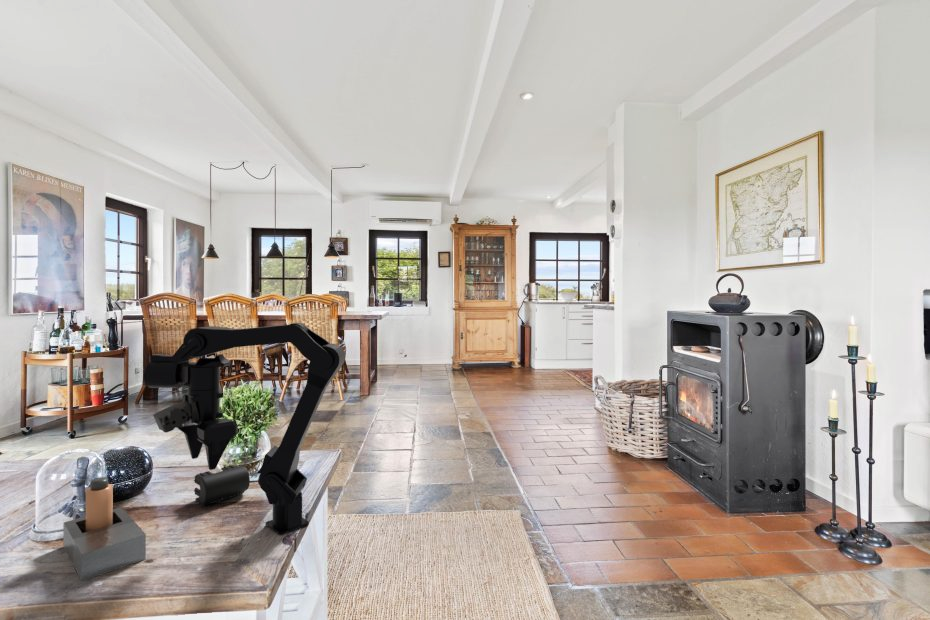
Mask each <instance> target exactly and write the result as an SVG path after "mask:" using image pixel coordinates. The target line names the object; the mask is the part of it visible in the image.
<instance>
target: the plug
mask: <svg viewBox="0 0 930 620" xmlns="http://www.w3.org/2000/svg"><path fill="white" fill-rule="evenodd" d="M113 485H114V484H112V483H109V477H98V478H94V479H91V480H90V487H88V488H86V489H85V517H86V532H89V531H92V530H96V529H99V528H103V527H106V526H110V525H113V509H114V507H113V506H114V505H113V504H114V502H113V501H114V500H113V499H114V498H113V497H114V495H113V493H114V490H113V487H114V486H113Z"/></svg>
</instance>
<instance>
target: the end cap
mask: <svg viewBox="0 0 930 620" xmlns="http://www.w3.org/2000/svg"><path fill="white" fill-rule="evenodd" d="M220 470H221V471H217V472H214V473H213V472H211V471H210V470H209V471H205V472H200V473H196V474H195V476H194V480H193V482H194V484H196V485H198V486H199V488H198V487H194V490H193V492H194V494H195V496H197V497H195V502H196V503H198V505H200V506H202V507H204V506H208V505H212V504H215V503H217V502H220V501H224V500H227V499H230V498H233V497H236V496H239V495H242V494H244V493H245V492H246V491H248V489H249V486H250V485H251V484H250V483H251V482H250V481H251V479H250V473H249V470H248V468H247V467H246V466H245V465H240V466H235V465H233V464H229V465H227V466H222V467H221V469H220Z"/></svg>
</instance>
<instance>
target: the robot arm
mask: <svg viewBox="0 0 930 620" xmlns="http://www.w3.org/2000/svg"><path fill="white" fill-rule="evenodd" d="M284 343H285V344H286V343H290V344H291V345H293V346H294V347H295V348H296V349H297V350H298V352H299V353H300V354H301V355H302V356H303V357H304V358H305V359H307V360H308V361H309V364H308V368H307V374H306V375H307V376H306V383H305V387H304V388H303V391H302V393H301V396H300V397H299V401H298V402H297V404H296V407H295V410H294V412H293V414H292V417H291V418H290V421H289V424H288V426H287V429H286V430H285V433H284V435H283V437H282V440H281V441H280V444H279V446H276V445H274V446H273V447H272V448H270V450H269V451H268V452H266V453H265V455H264V456H263V457H264V458H263V461H262V464H261V467H260V468H259V470H257V472H256V474H257V475H258V479H257V483H258V485H259V488H260V489H261V490H262V491H263V492H264V493H265V496H266V500H267V501H268V503H269V504H268V505H272V519H270V520H268V521H265V526H266V527H268V528H269V529H271V530H272V531H273V532H275V533H276V534H277V535H280V536H281V535H284V534H288V533H289V532H292V531H294V530H298V529H300V528H302V527H305V526H307V525H309V523H310V521H309V520H308V519H306V518H304V517H303V493H302V490H303V489H304V488H305V486H306V483H307V480H308V477H306V476H305V475H304V474H303V473H302V472H301V471H300V470H299V469H298V466H299V462H300V455H301V454H300V452H301V446H302V445H303V443H304V440H305V438H306V435H307V433H308V431H309V428H310V427H311V424H312V421H313V419H314V417H315V415H316V412H317V410H318V408H319V405H320V403H321V401H322V399H323V397H324V394H325V392H326V390H327V388H328V386H330V383H331V382H332V381H333V379H334V378H335V376H336V375H337V373H338V372H339V370H340V369H341V368H342V366H343V365H344V363H345V360H346V353H345V350H344V349H343V348H342V346H340V345H339V344H336V343H330V342H329V341H328V340H326V339H325V338H324V337H323V336H321V335H319V334H318V333H316V332H315V331H313V330H312V329H310V328H309V327H308V326H307V325H306V324H304V323H303V322H293V323H289V324H280V325H269V326H258V327H257V326H256V327H249V328H248V327H247V328H246V327H245V328H230V327H225V326H215V325H214V326H210V325H209V326H202V327H200V326H199V327H194V328H191V329H189V330H187V332H186V333H185V334H184V337H183V339H182V343H181V345H180V346H179V348H178V349H177V350H176V351H175V352H174V354H163V353H156V354H151V355H150V361H148V363H147V365H146V367H145V371H144V372H143V381H144V384H145V386H146V387H148V388H149V389H150V388H151V389H155V388H156V389H181V388H182V387H184V386H185V384H186V383H187V392H186V393H185V392H184V394H183V395H182V401H180V402H178V403H175V404H172V405H169V406H168V407H166V408H164V409H162V410H159V411H156V412H155V413H154V414H153V415H152V416H153V419H154V420H155V423H156V425H157V427H158V429H159V430H161V431H162V432H163V433H169V432H172V431H174V430H175V429H177V430H179V431H181V432H182V433H183V434H184V437H185V440H186V443H187V446H188V449H189V450H188V451H189V453H190V456H191V459H194V460H195V459H197V458H199V456H200V455H201V450H202V449H203V448H202V447H203V445H204V447H205V452H206V453H205V454H206V460H207V466H208V467H207V468H208V469H209V471H212V470H215V469H216V468H217V466H218V465H219V462H220V460H221V458H222V456H224V455H223V454H224V452H225V450H226V449H227V447H228V445H229V444H230V442H231V441H232V439H234V437H235V436H236V435H238V432H239V430H238V426H239V425H238V424H237V423H236V422H235V421H233V420H232V419H229V418H227V417H224V412H222V411H221V410H220V405H221V404H220V399H224V392H222V391H220V390H221V388H220V386H221V384H220V382H221V380H220V379H221V378H220V377H221V375H220V374H221V372H220V371H221V369H220V368H224V367H227V366H230V365H232V361H230V360H229V359H228V358H226V357H225V356H224V354H223V353H220V354H217V355H215V357H203V356H207V355H212V354H215V353H219V352H223V351H227V350H230V349H234V348H241V347H242V348H243V347H254V346H262V345H275V344H284ZM198 358H199V359H198ZM195 359H198V360H197V361H195V362H194V361H190V360H195Z"/></svg>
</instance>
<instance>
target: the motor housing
mask: <svg viewBox="0 0 930 620" xmlns="http://www.w3.org/2000/svg"><path fill="white" fill-rule="evenodd" d="M62 528H63V534H62V535H63V543H62V544H63V548H64V551H65V553H66V554H67V556H68V557H69V560H70V562H71V564H72V566H73V568H74V569H75V571H76V573H77V575H78V577H79V579H80V581H81V582H83V581H86V580H89V579H92V578H96V577H99V576H100V575H104V574H107V573H111V572H112V571H115V570H118V569H121V568H124V567H126V566H131V565H132V564H135V563H138V562H140V561H144V560H146V558H147V556H146V555H147V553H146V549H147V548H146V546H147V545H146V543H147V542H146V541H147V540H146V539H147V535H146V533H145V531H144V530H143V529H142V527H140V526H139V525H138V524H137V523H136V521H134V519H133V518H132V517H131V516H130V515H129V514H128V513H127V511H126V510H125V509H124V508H123V507H122V506H120V507H117V508H113V525H110V526H106V527H103V528H99V529H96V530H92V531H89V532H86V516H83V517H79V518H75V519H71V520H68V521H63V526H62Z"/></svg>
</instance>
